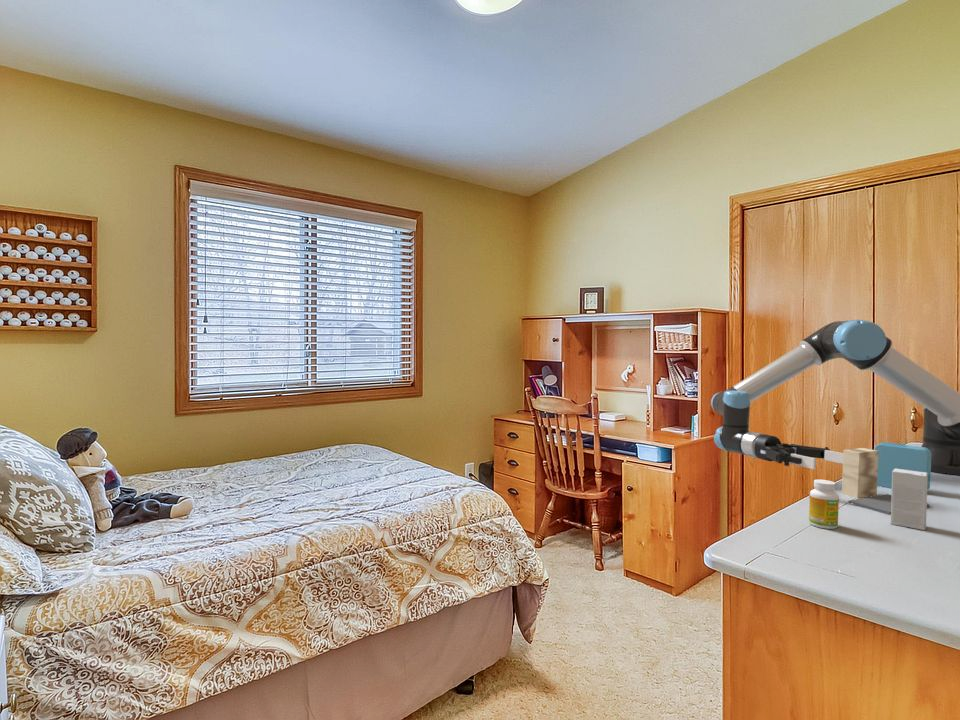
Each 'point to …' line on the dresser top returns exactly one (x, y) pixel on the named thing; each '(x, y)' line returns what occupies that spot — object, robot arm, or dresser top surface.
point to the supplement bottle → (824, 505)
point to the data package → (901, 461)
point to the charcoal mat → (876, 503)
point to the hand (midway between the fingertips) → (832, 461)
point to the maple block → (860, 472)
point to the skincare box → (909, 498)
